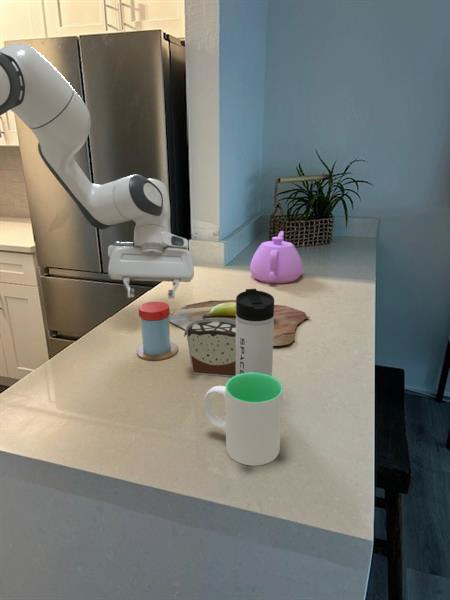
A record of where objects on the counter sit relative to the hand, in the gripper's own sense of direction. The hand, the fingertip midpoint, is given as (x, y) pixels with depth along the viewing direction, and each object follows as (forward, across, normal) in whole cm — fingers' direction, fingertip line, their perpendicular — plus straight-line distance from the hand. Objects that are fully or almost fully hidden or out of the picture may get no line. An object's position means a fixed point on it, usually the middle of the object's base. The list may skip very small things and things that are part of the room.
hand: (151, 297), depth 101 cm
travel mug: (+26, +17, -23) cm, 39 cm away
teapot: (-19, +44, +34) cm, 59 cm away
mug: (+33, +12, -31) cm, 47 cm away
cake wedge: (+19, +13, -12) cm, 26 cm away
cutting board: (+4, +22, +6) cm, 24 cm away
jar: (+13, +1, -4) cm, 14 cm away
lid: (+5, 0, -9) cm, 11 cm away
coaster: (+13, +1, -4) cm, 14 cm away
